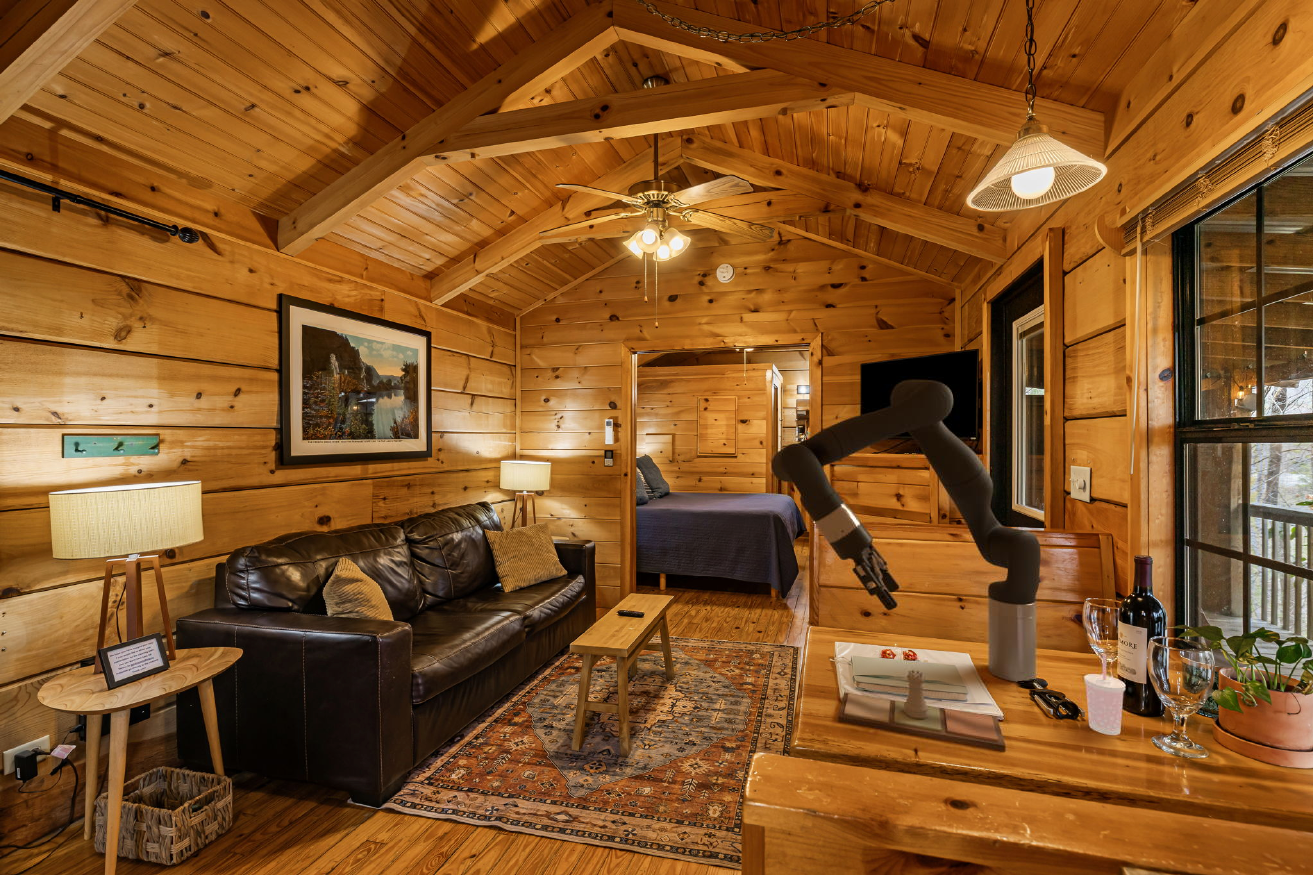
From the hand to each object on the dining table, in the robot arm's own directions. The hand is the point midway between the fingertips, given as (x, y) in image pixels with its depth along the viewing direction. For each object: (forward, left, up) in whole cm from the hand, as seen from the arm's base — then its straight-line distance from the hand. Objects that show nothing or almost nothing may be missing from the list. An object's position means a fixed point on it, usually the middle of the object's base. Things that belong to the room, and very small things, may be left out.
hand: (894, 598), depth 114 cm
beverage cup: (-10, +36, -23) cm, 44 cm away
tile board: (0, +4, -23) cm, 24 cm away
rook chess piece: (0, +4, -22) cm, 22 cm away
